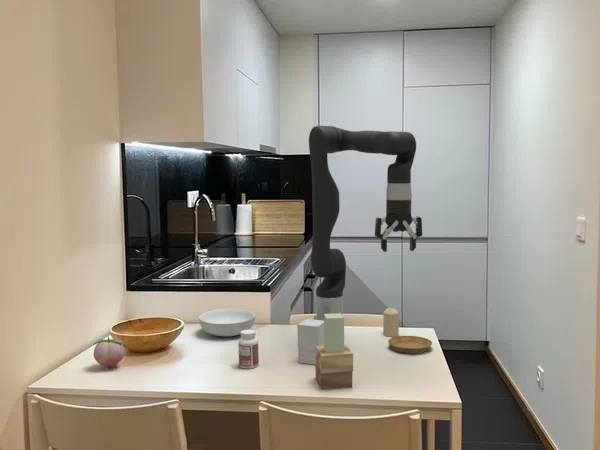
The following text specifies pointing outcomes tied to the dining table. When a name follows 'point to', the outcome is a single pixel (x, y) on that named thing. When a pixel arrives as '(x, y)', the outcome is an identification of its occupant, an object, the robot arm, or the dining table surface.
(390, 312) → the candle
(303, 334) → the supplement box
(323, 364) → the oak block
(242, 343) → the pill bottle
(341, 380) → the walnut block
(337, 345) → the sage block
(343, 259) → the robot arm
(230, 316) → the serving bowl
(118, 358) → the decorative fruit
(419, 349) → the plant saucer
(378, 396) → the dining table surface
